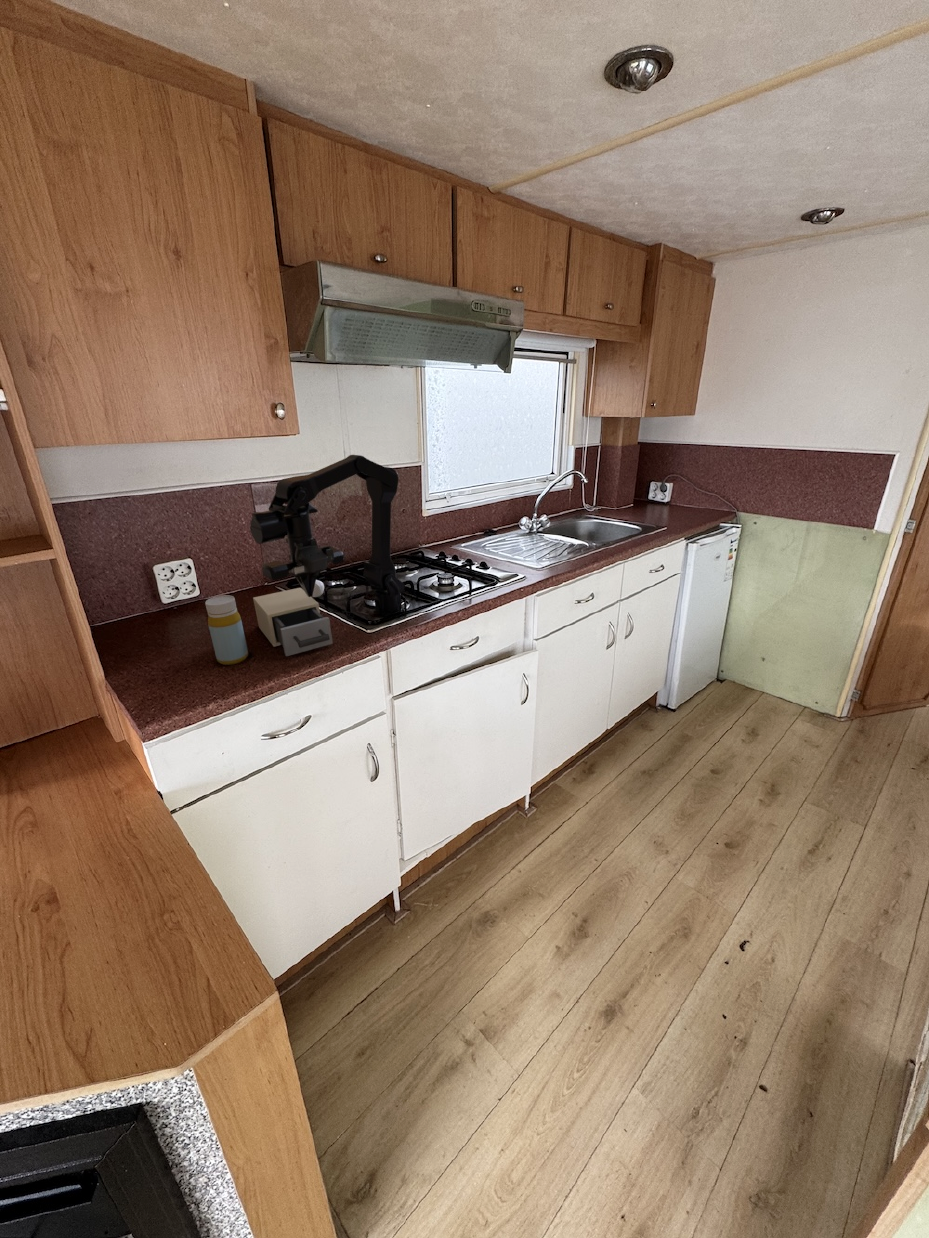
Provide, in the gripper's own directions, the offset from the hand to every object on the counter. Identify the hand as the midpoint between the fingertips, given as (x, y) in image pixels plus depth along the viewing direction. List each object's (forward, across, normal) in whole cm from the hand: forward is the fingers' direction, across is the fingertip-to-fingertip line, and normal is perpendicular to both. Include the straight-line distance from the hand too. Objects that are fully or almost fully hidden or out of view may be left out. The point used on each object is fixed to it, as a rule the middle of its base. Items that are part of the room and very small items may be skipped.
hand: (310, 596), depth 132 cm
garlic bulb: (+12, +15, +29) cm, 35 cm away
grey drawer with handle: (+10, -5, -3) cm, 12 cm away
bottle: (+11, -20, +4) cm, 23 cm away
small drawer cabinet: (+11, -3, +9) cm, 15 cm away
